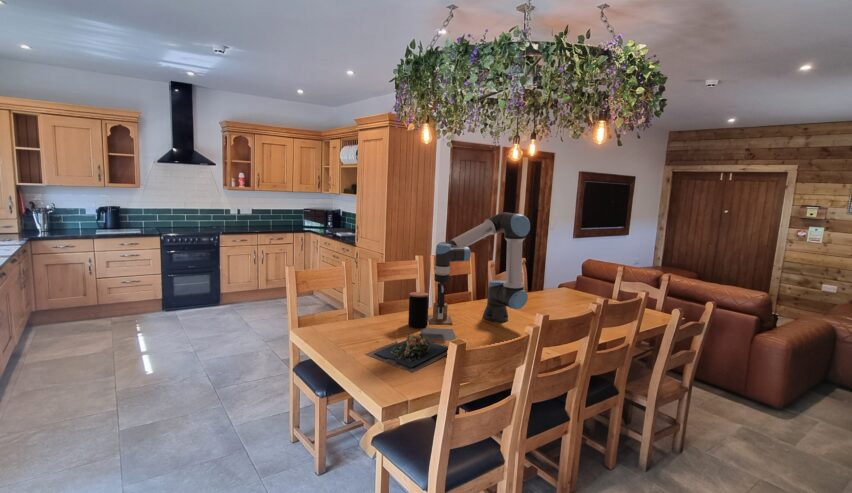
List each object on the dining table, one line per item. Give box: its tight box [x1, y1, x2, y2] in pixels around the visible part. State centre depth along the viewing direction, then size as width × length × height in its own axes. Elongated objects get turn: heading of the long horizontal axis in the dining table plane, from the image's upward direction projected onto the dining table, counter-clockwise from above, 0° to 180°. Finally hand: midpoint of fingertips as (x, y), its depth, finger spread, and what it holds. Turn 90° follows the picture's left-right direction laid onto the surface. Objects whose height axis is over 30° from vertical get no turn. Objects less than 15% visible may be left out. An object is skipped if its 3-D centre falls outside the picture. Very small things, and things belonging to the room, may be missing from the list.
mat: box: [419, 327, 457, 342], centre depth 232 cm, size 18×18×1 cm
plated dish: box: [365, 330, 448, 374], centre depth 206 cm, size 35×28×7 cm
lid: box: [428, 302, 453, 326], centre depth 230 cm, size 12×12×9 cm
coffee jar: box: [408, 291, 430, 329], centre depth 242 cm, size 11×11×18 cm
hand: (439, 317), depth 231 cm, fingers closed on lid, 3 cm apart
